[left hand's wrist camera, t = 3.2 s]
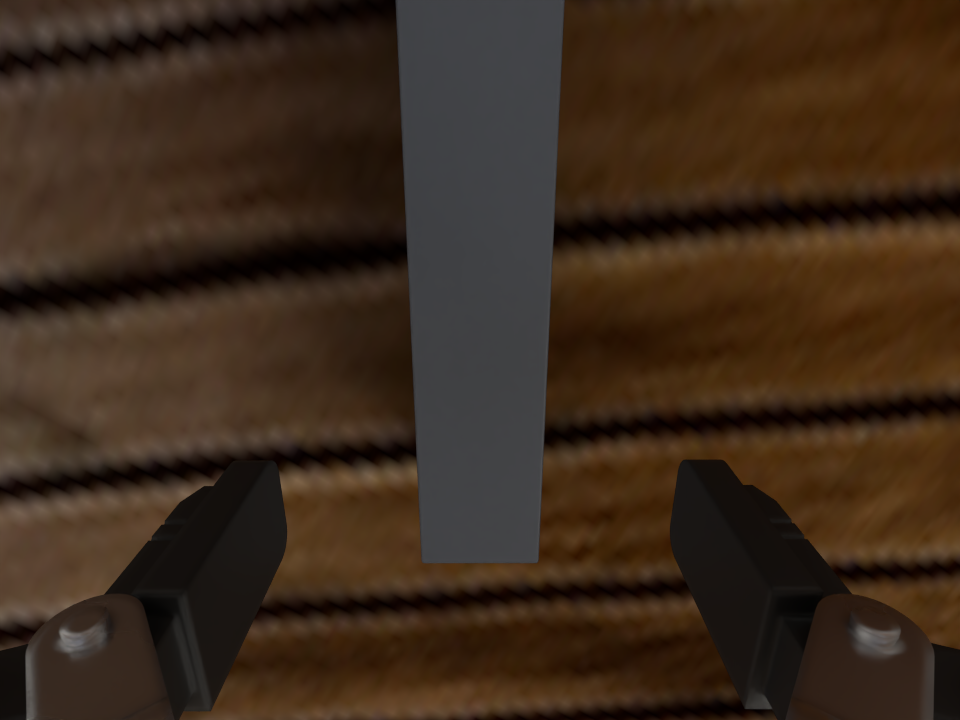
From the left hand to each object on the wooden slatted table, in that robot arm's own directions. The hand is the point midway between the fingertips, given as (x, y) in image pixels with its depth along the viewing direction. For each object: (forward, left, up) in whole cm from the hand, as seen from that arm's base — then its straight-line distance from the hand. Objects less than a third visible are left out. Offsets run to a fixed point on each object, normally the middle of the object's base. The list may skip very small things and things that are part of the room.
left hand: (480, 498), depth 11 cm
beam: (+23, 0, -12) cm, 26 cm away
